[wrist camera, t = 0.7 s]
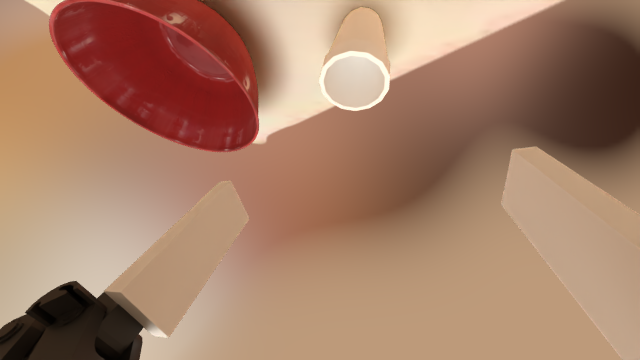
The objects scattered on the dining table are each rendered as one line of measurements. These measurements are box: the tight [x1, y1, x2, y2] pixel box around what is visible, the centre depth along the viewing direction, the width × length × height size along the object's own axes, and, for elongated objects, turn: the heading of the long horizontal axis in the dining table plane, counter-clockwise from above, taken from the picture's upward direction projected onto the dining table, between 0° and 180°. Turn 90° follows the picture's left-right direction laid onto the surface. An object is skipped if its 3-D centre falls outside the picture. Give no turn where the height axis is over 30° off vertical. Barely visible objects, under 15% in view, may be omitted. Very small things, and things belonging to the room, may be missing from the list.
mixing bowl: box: [49, 0, 259, 152], centre depth 40 cm, size 28×28×16 cm
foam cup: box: [319, 7, 390, 111], centre depth 33 cm, size 10×9×13 cm
